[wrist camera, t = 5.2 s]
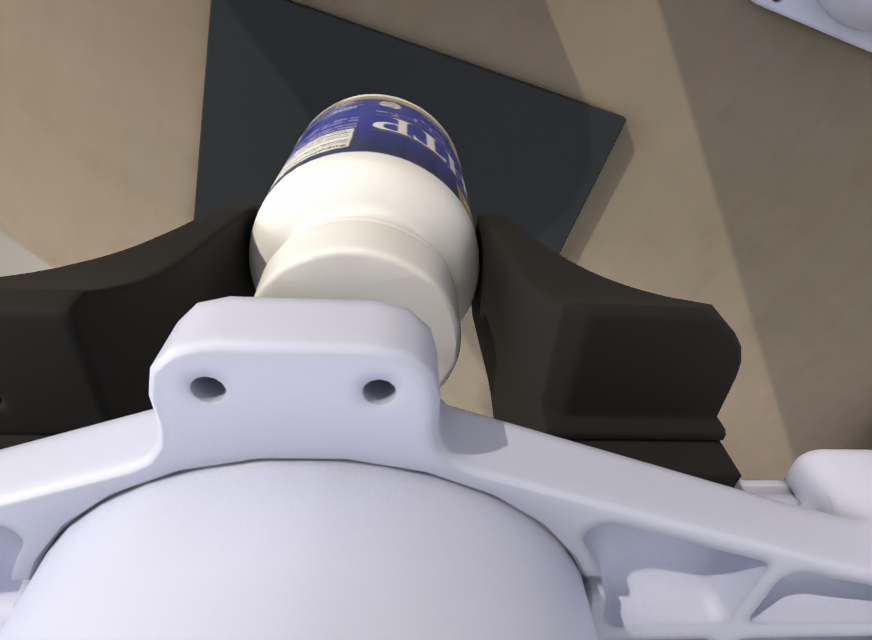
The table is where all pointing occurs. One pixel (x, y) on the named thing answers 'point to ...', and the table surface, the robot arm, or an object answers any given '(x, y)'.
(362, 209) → the pill bottle
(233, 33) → the mat
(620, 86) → the table surface
